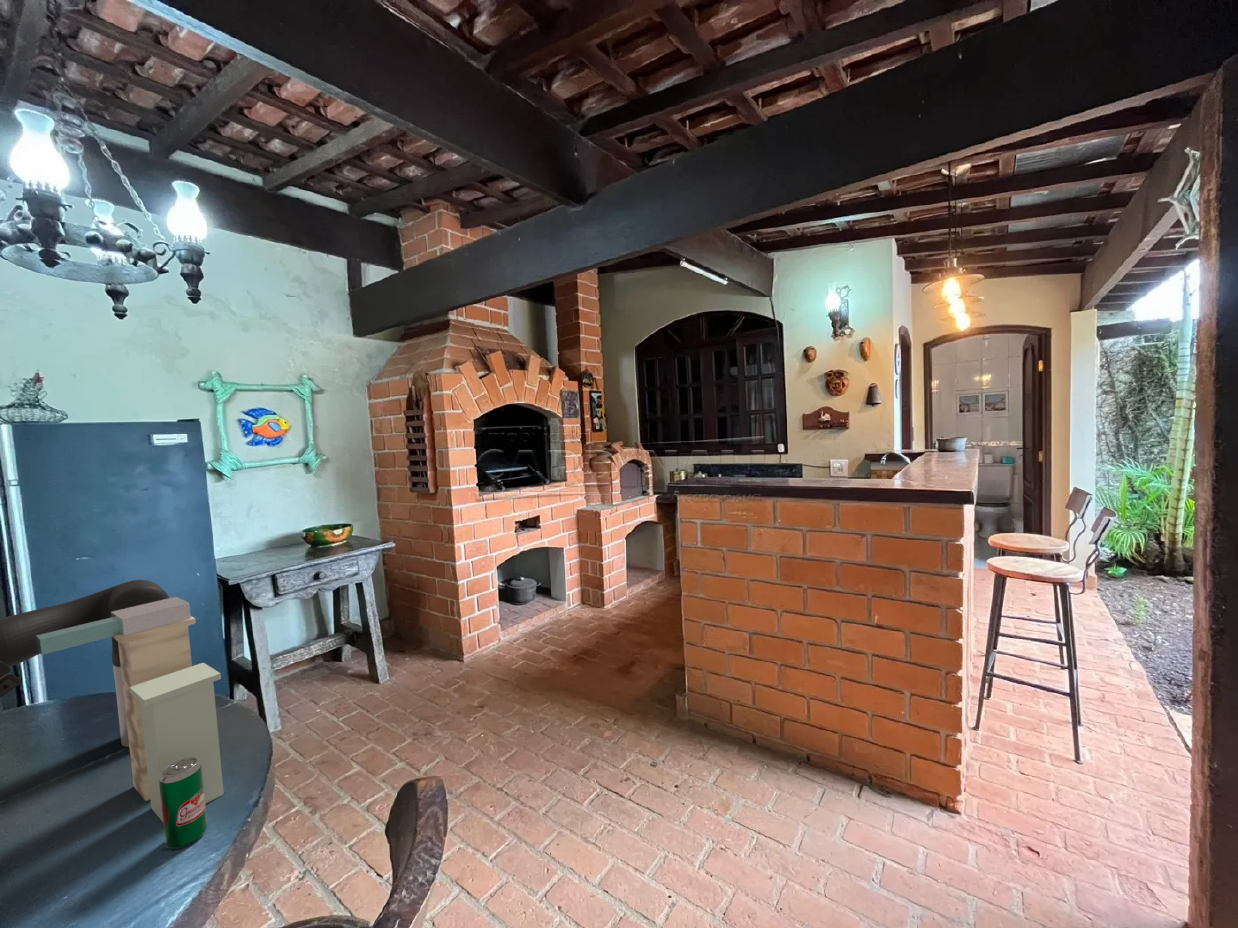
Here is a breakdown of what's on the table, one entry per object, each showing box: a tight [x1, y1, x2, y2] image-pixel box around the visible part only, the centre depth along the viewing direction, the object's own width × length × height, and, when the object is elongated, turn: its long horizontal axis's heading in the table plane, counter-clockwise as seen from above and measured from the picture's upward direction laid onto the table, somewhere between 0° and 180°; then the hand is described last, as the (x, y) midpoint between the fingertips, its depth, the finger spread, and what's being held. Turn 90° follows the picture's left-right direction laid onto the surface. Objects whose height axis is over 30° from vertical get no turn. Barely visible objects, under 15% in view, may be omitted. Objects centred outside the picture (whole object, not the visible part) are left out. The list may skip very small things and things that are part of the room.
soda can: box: [159, 757, 208, 850], centre depth 79 cm, size 5×5×12 cm
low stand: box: [129, 662, 225, 823], centre depth 87 cm, size 8×10×22 cm
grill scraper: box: [36, 596, 192, 656], centre depth 87 cm, size 7×18×3 cm, turn 147°
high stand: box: [111, 615, 197, 802], centre depth 92 cm, size 8×10×30 cm
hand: (11, 670), depth 77 cm, fingers open, 8 cm apart
